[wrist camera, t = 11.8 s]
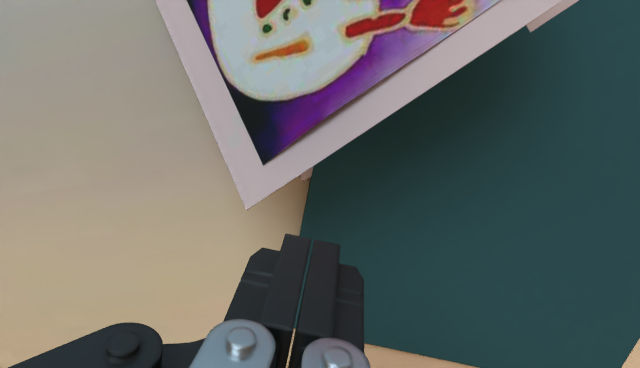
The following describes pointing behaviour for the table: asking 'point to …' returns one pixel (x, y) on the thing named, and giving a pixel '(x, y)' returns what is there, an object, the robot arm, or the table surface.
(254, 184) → the greeting card
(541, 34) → the placemat
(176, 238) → the table surface
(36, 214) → the table surface
